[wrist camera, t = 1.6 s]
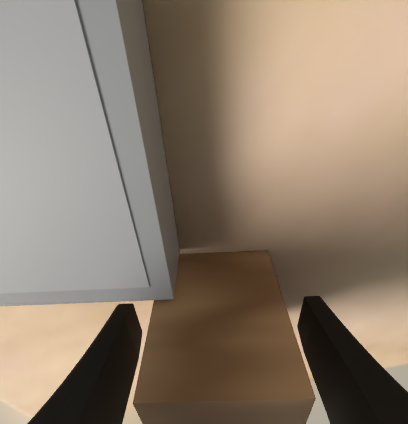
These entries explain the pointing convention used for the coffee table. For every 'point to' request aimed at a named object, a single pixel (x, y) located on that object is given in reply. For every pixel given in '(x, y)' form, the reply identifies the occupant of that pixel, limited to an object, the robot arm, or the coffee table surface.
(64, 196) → the plinth
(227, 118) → the coffee table surface
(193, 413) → the walnut block
